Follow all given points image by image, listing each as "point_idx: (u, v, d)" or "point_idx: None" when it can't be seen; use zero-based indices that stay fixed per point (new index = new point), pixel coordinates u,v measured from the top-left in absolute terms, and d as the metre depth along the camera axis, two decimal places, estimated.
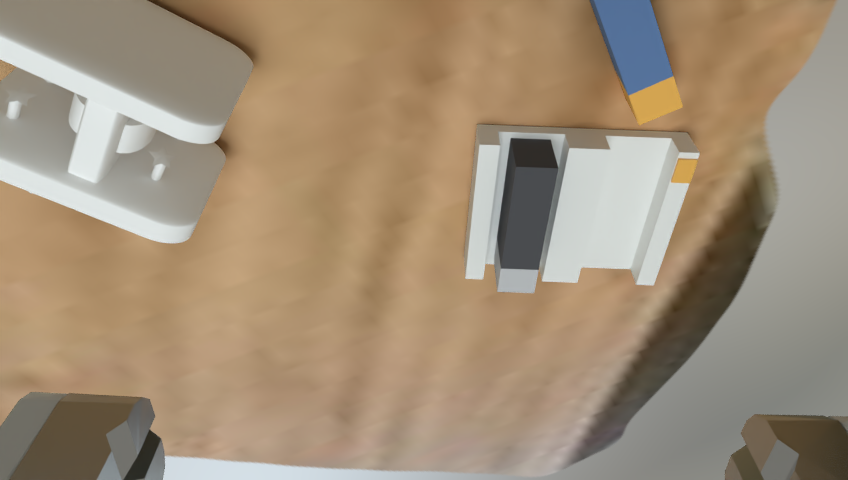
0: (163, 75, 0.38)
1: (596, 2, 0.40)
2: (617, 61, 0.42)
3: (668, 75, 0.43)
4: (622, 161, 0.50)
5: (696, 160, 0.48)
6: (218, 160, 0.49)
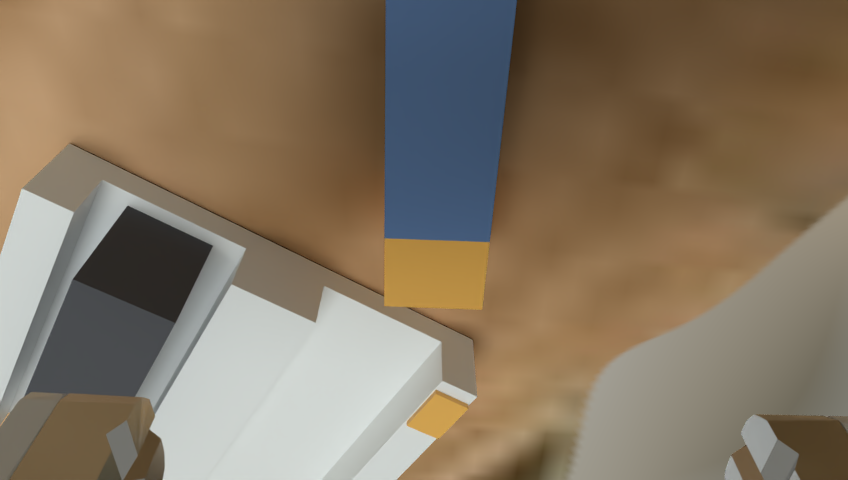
0: None
1: None
2: (388, 154, 0.17)
3: (480, 236, 0.19)
4: (339, 343, 0.25)
5: (465, 407, 0.24)
6: None
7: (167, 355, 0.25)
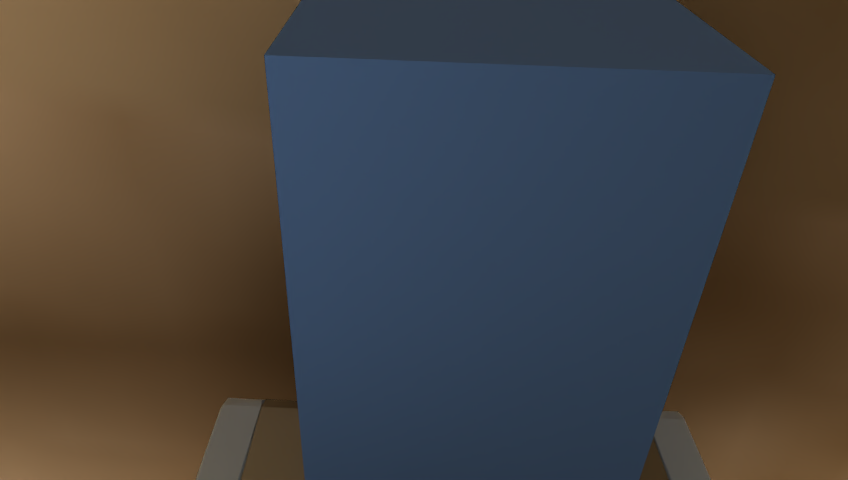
0: None
1: (307, 378, 0.05)
2: None
3: None
4: None
5: None
6: None
7: None
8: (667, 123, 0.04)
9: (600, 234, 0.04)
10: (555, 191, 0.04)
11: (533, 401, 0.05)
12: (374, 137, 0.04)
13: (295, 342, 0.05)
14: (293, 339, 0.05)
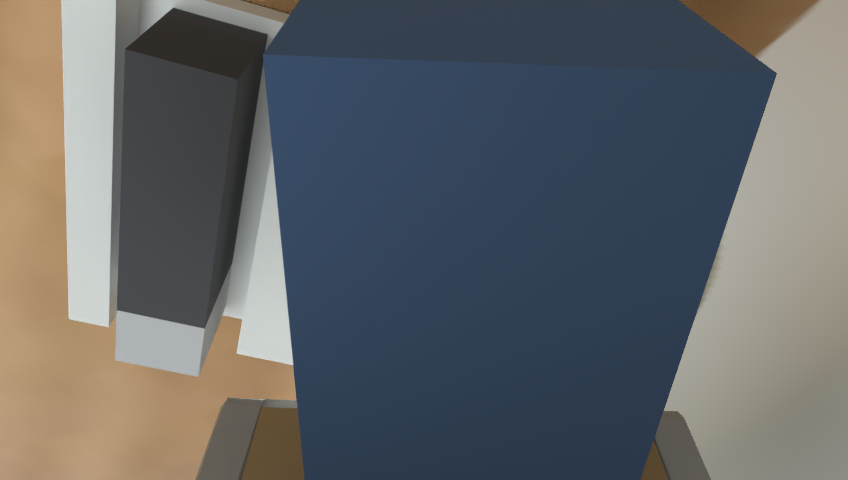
0: None
1: (306, 379, 0.05)
2: None
3: None
4: None
5: None
6: None
7: (256, 187, 0.24)
8: (668, 122, 0.04)
9: (599, 234, 0.04)
10: (554, 192, 0.04)
11: (533, 401, 0.05)
12: (374, 138, 0.04)
13: (295, 343, 0.05)
14: (292, 340, 0.05)
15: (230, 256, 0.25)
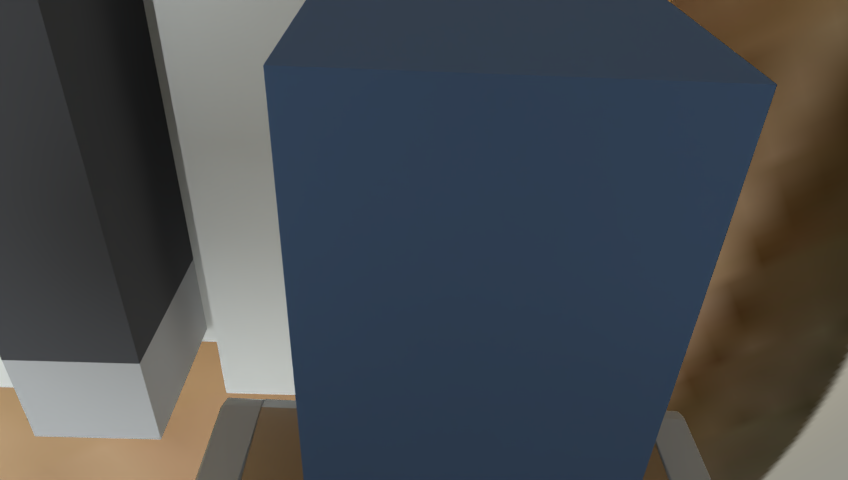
0: None
1: (306, 387, 0.05)
2: None
3: None
4: None
5: None
6: None
7: None
8: (668, 133, 0.04)
9: (600, 242, 0.04)
10: (556, 201, 0.04)
11: (533, 409, 0.05)
12: (374, 148, 0.04)
13: (295, 351, 0.05)
14: (292, 347, 0.05)
15: (180, 249, 0.17)
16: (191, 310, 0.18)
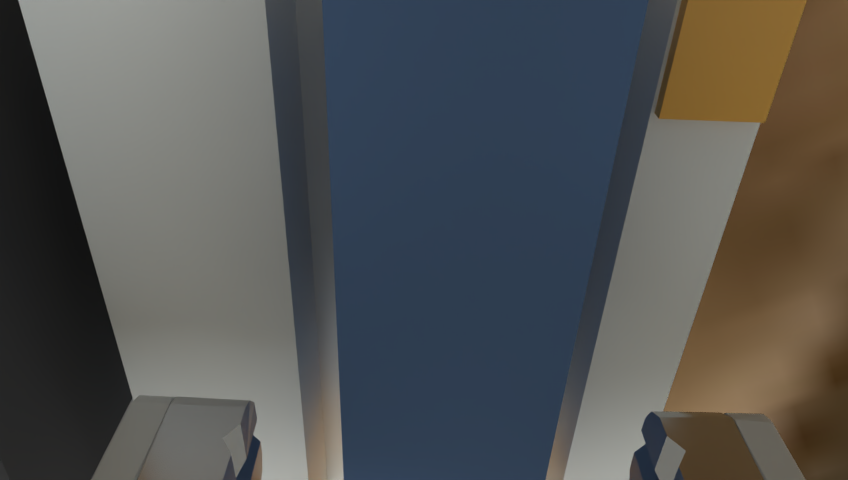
0: None
1: (340, 218, 0.07)
2: (348, 466, 0.10)
3: None
4: None
5: None
6: None
7: None
8: (584, 19, 0.06)
9: (544, 100, 0.07)
10: (512, 69, 0.06)
11: (502, 237, 0.07)
12: (391, 29, 0.06)
13: (333, 188, 0.07)
14: (330, 186, 0.07)
15: (117, 384, 0.13)
16: None
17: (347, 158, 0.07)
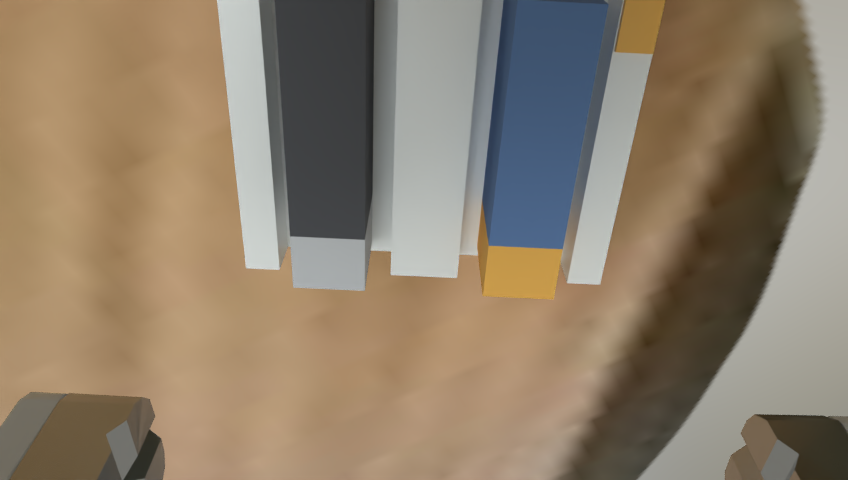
0: None
1: (511, 77, 0.23)
2: (497, 186, 0.25)
3: (556, 244, 0.26)
4: None
5: None
6: None
7: (383, 117, 0.28)
8: (589, 13, 0.22)
9: (577, 38, 0.22)
10: (568, 28, 0.22)
11: (562, 85, 0.23)
12: (535, 16, 0.22)
13: (510, 66, 0.23)
14: (509, 66, 0.23)
15: (371, 185, 0.29)
16: (370, 225, 0.30)
17: (516, 56, 0.22)
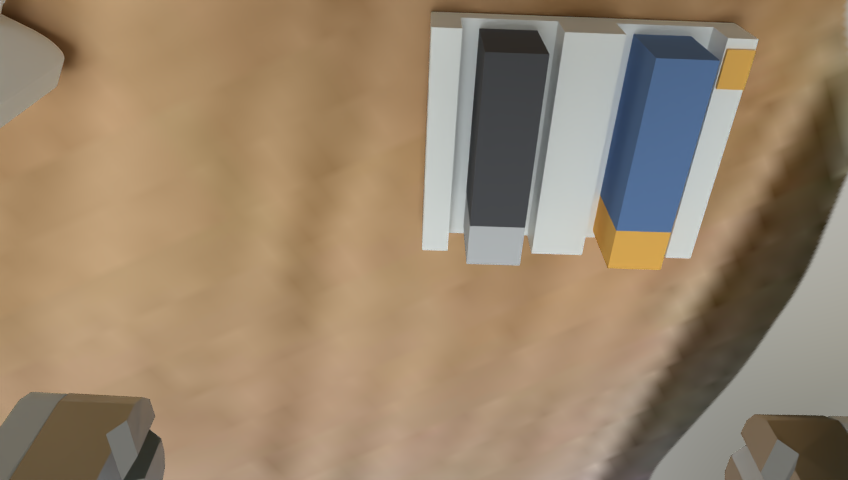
0: None
1: (645, 111, 0.32)
2: (627, 187, 0.34)
3: (666, 229, 0.36)
4: None
5: (753, 51, 0.32)
6: (48, 58, 0.33)
7: None
8: (706, 67, 0.31)
9: (696, 83, 0.31)
10: (690, 76, 0.31)
11: (682, 115, 0.32)
12: (667, 69, 0.31)
13: (646, 103, 0.32)
14: (645, 103, 0.32)
15: None
16: None
17: (651, 96, 0.32)
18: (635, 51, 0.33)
